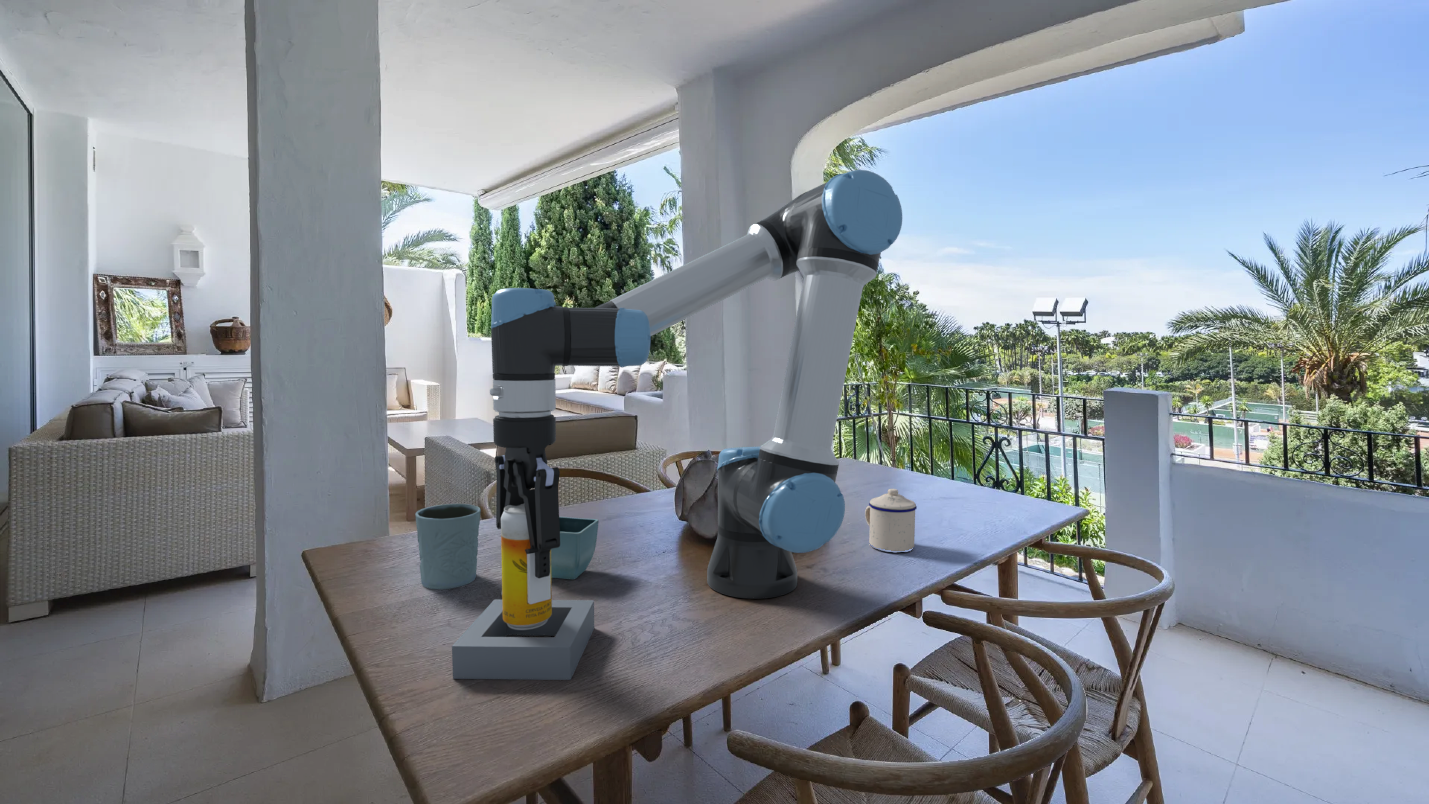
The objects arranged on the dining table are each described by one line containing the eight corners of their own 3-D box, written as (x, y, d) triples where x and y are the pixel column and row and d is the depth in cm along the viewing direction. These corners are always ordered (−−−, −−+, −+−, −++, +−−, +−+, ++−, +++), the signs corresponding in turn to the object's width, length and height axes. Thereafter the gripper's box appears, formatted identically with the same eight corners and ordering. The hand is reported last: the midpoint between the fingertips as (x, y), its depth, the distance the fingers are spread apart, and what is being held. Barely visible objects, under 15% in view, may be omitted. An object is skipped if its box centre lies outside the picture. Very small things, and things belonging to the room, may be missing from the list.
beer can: (535, 634, 78) (533, 515, 76) (492, 628, 79) (490, 511, 78) (560, 615, 84) (559, 503, 82) (520, 609, 85) (518, 500, 84)
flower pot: (580, 585, 105) (579, 532, 104) (531, 581, 106) (530, 529, 106) (600, 568, 113) (599, 518, 112) (554, 564, 115) (553, 516, 114)
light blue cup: (425, 571, 111) (423, 504, 110) (486, 567, 113) (484, 501, 112) (410, 593, 101) (408, 519, 100) (477, 588, 103) (475, 516, 102)
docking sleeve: (594, 627, 89) (594, 600, 88) (570, 679, 75) (570, 647, 74) (495, 627, 89) (494, 599, 89) (452, 678, 75) (451, 646, 75)
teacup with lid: (925, 550, 124) (927, 491, 123) (890, 557, 120) (892, 496, 119) (882, 534, 134) (883, 480, 133) (848, 540, 130) (850, 484, 129)
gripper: (466, 409, 84) (470, 579, 86) (530, 422, 70) (533, 625, 72) (520, 406, 89) (523, 567, 91) (589, 418, 75) (591, 608, 77)
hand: (527, 592), depth 81 cm, fingers closed on beer can, 6 cm apart
